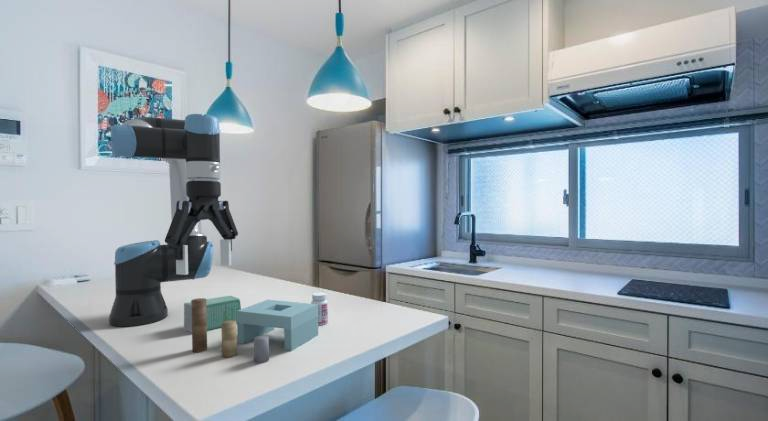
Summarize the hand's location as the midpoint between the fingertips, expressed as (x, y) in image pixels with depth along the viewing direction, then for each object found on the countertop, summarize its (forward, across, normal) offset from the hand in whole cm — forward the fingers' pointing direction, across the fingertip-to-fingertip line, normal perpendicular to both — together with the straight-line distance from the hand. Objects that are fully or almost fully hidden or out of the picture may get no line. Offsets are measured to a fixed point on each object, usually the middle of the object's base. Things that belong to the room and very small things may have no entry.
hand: (205, 269), depth 95 cm
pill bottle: (+19, +26, -16) cm, 36 cm away
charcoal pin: (+19, -2, -17) cm, 26 cm away
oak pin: (+19, -2, -8) cm, 21 cm away
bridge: (+19, +11, -13) cm, 25 cm away
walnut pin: (+19, -2, +1) cm, 19 cm away
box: (+19, +14, +12) cm, 27 cm away
